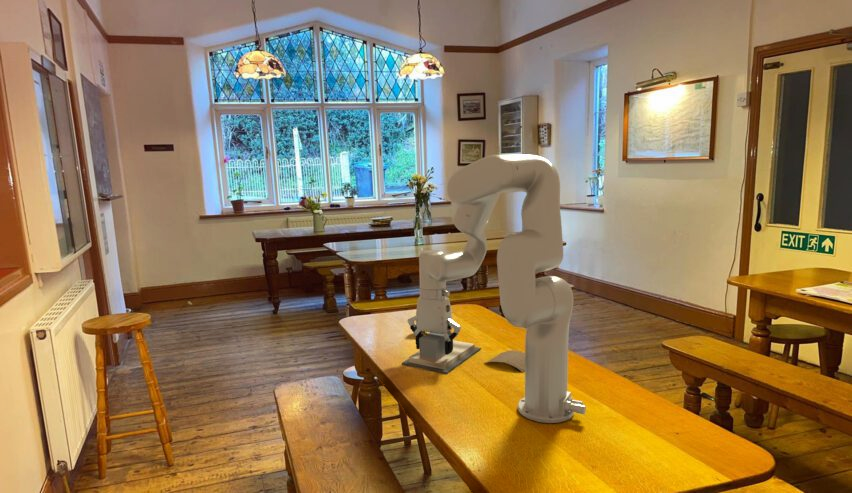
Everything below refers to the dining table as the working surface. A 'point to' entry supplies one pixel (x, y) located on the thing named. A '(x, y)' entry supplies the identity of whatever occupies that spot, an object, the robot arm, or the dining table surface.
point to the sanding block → (432, 346)
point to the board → (444, 358)
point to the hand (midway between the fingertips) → (434, 350)
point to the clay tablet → (511, 359)
